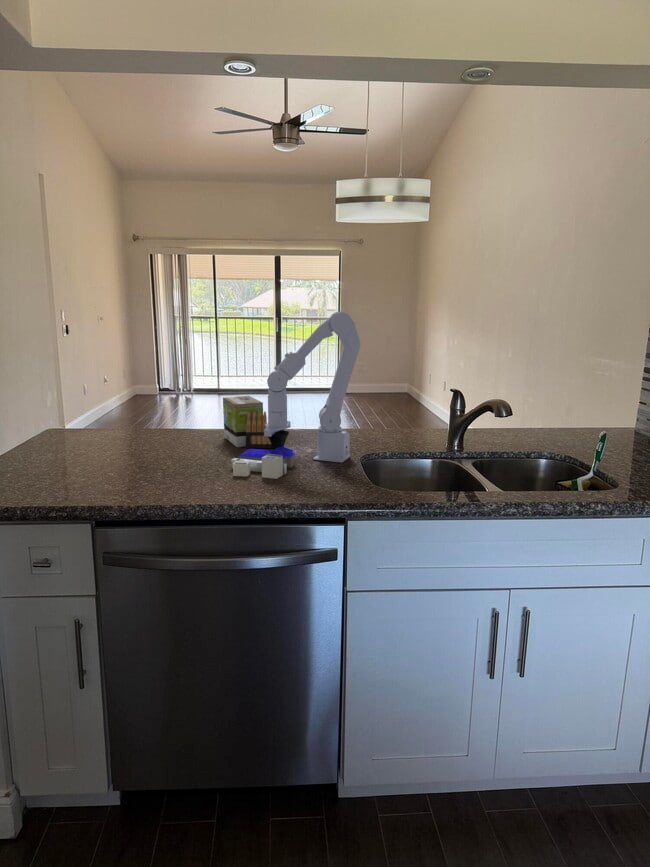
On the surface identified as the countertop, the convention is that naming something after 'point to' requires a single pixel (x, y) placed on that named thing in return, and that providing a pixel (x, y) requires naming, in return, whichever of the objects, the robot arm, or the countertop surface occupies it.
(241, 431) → the tea box
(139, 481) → the countertop surface
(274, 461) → the block
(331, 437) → the robot arm
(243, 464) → the block
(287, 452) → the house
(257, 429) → the ammunition clip
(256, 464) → the rail
